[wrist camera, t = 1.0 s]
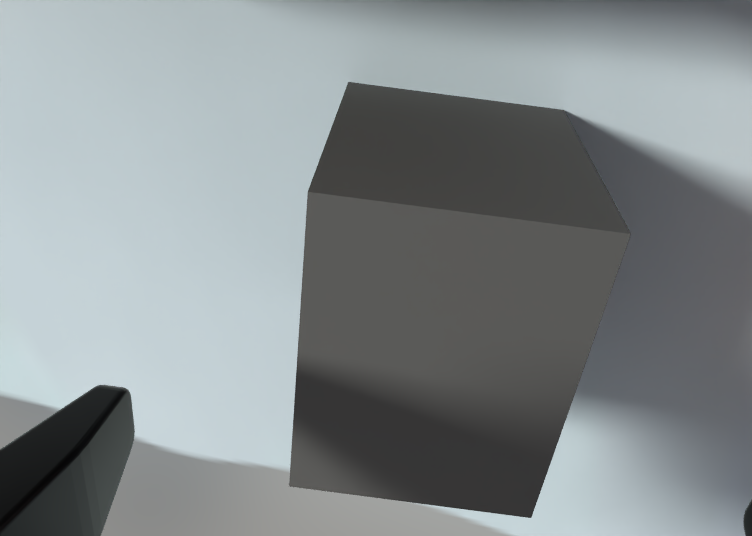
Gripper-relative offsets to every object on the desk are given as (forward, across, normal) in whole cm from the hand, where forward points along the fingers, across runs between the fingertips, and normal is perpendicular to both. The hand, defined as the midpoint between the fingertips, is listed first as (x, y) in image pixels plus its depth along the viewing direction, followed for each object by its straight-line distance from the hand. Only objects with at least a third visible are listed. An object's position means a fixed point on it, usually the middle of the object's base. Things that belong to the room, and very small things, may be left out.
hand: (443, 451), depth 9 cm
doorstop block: (+7, 0, 0) cm, 7 cm away
